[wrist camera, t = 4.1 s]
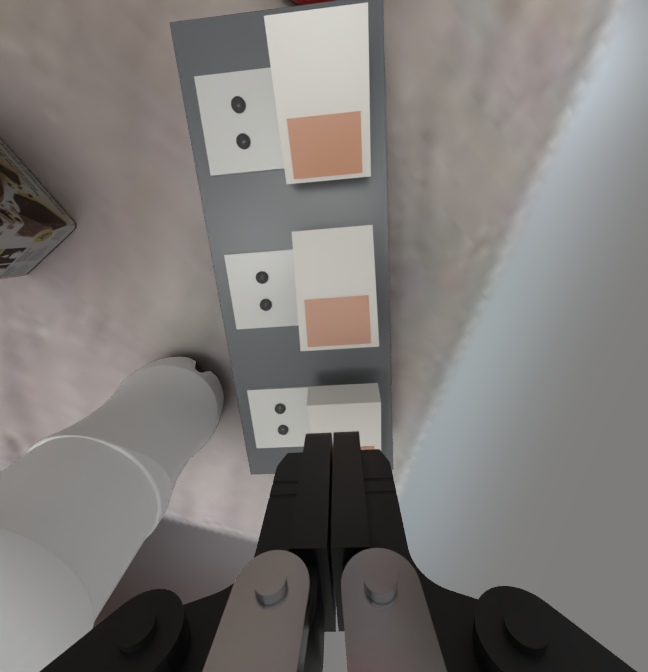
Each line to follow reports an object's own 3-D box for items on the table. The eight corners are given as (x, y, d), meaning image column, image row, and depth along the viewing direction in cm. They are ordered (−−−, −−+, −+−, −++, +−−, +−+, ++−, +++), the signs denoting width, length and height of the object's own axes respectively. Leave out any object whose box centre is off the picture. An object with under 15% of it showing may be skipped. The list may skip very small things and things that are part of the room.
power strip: (208, 68, 21) (163, 14, 15) (372, 48, 20) (384, -15, 15) (265, 433, 29) (248, 480, 24) (384, 428, 28) (394, 475, 23)
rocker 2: (296, 237, 18) (291, 231, 17) (370, 231, 18) (372, 224, 16) (304, 347, 19) (300, 351, 17) (376, 343, 19) (379, 346, 17)
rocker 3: (308, 386, 20) (306, 406, 18) (377, 382, 19) (381, 403, 18) (318, 455, 23) (317, 477, 21) (378, 453, 23) (381, 475, 21)
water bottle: (192, 330, 26) (-1204, 1338, 3) (249, 399, 28) (-262, 1392, 4) (127, 377, 28) (-1114, 1271, 4) (185, 440, 29) (-454, 1333, 6)
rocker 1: (270, 26, 14) (263, 15, 13) (364, 14, 14) (368, 1, 13) (290, 179, 18) (286, 184, 16) (368, 172, 17) (371, 176, 16)
